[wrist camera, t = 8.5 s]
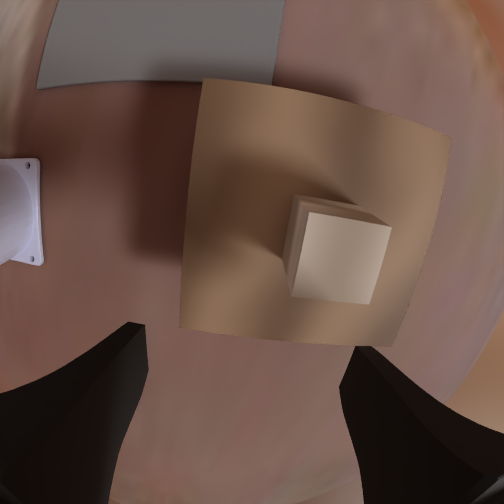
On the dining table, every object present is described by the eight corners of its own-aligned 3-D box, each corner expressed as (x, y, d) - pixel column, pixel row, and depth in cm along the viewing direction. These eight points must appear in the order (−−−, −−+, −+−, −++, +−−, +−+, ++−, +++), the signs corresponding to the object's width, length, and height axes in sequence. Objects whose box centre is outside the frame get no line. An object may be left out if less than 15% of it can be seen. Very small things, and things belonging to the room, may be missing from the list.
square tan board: (182, 319, 16) (163, 373, 12) (206, 81, 12) (186, 54, 8) (386, 338, 16) (415, 387, 12) (443, 137, 12) (499, 141, 8)
